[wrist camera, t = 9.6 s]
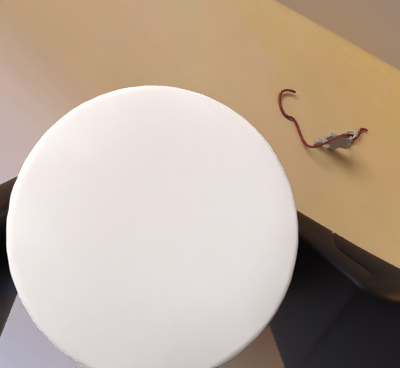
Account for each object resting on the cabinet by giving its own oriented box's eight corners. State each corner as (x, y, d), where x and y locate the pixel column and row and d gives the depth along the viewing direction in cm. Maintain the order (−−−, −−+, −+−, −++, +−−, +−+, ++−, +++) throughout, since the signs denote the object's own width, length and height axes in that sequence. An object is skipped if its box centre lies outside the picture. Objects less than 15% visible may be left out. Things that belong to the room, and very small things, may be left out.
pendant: (273, 142, 19) (296, 127, 17) (278, 88, 20) (301, 66, 18) (365, 168, 21) (399, 158, 18) (366, 117, 22) (397, 100, 20)
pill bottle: (188, 296, 15) (353, 426, 4) (67, 296, 13) (-142, 500, 3) (193, 187, 16) (328, 83, 6) (84, 177, 15) (-12, 5, 4)
